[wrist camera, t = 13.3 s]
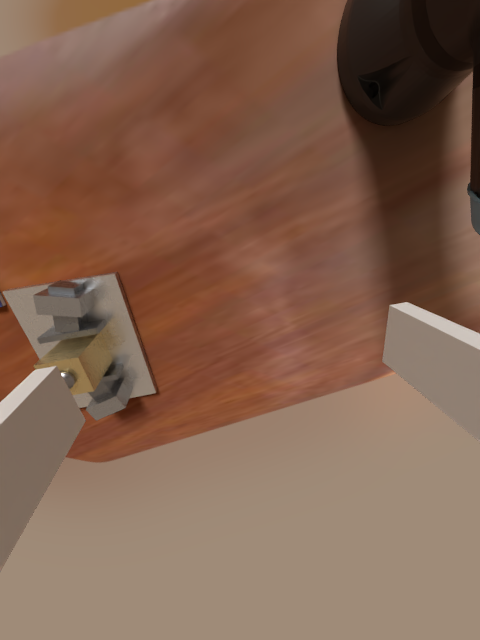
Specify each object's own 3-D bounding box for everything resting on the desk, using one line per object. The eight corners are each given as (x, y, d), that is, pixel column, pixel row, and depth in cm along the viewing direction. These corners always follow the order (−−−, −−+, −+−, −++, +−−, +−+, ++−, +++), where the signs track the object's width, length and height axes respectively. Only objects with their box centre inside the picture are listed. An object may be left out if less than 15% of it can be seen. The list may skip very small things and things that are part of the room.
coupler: (78, 366, 37) (49, 402, 30) (64, 337, 35) (30, 368, 28) (112, 360, 37) (92, 394, 30) (100, 331, 35) (75, 360, 28)
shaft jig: (7, 287, 32) (-26, 299, 28) (116, 269, 33) (102, 279, 29) (72, 406, 41) (55, 431, 36) (157, 389, 42) (151, 412, 37)
